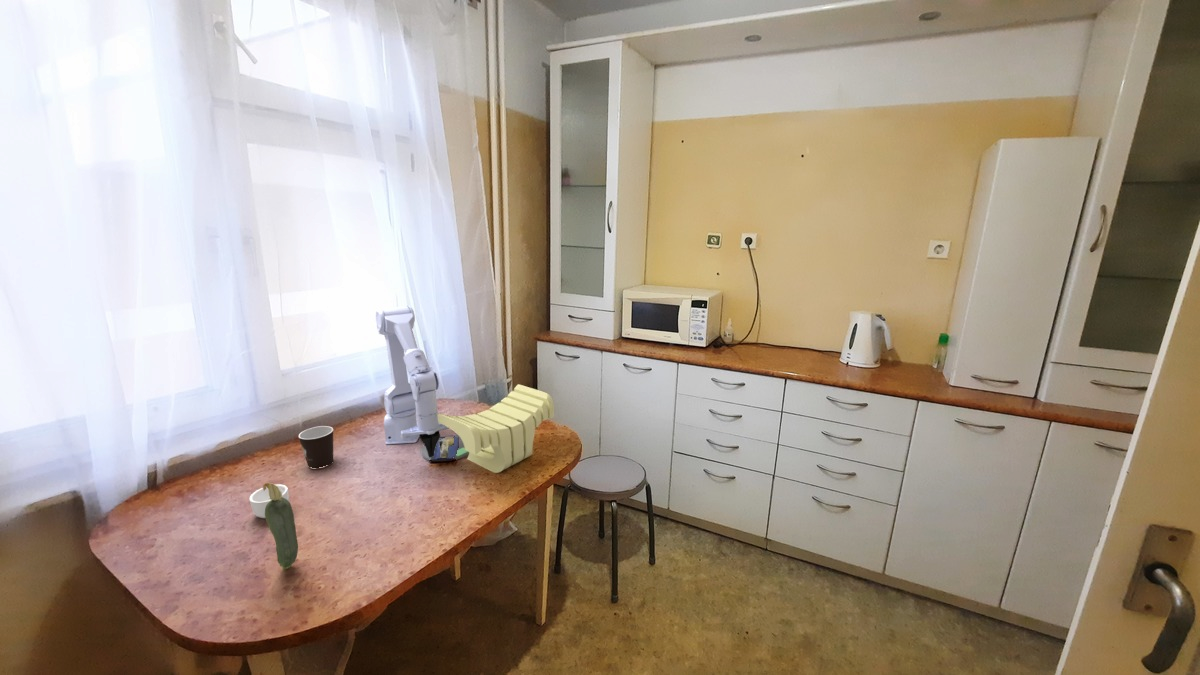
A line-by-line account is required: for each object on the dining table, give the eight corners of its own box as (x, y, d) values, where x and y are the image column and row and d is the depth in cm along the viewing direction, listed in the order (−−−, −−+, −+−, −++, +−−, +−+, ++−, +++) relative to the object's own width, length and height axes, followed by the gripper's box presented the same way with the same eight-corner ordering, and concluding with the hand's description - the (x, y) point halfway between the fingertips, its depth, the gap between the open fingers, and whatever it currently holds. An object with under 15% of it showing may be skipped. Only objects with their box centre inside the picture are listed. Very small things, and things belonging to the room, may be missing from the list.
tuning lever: (443, 442, 144) (442, 428, 143) (455, 442, 145) (454, 427, 144) (437, 458, 135) (436, 443, 133) (450, 457, 135) (449, 442, 134)
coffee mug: (335, 468, 132) (330, 436, 130) (300, 473, 129) (295, 441, 126) (341, 449, 142) (336, 420, 140) (309, 454, 139) (304, 424, 137)
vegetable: (306, 561, 96) (291, 475, 91) (294, 576, 91) (277, 488, 87) (285, 561, 96) (268, 476, 91) (271, 577, 91) (253, 488, 86)
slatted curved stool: (477, 490, 122) (473, 428, 117) (442, 470, 131) (437, 413, 127) (554, 447, 145) (553, 395, 140) (520, 433, 154) (518, 384, 150)
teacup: (294, 513, 112) (291, 493, 110) (256, 527, 106) (251, 506, 105) (285, 496, 118) (282, 477, 117) (249, 508, 113) (245, 489, 112)
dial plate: (416, 464, 134) (415, 460, 134) (427, 439, 150) (427, 436, 149) (472, 460, 137) (471, 456, 136) (477, 436, 152) (477, 433, 152)
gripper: (402, 423, 124) (406, 468, 127) (456, 412, 131) (459, 455, 134) (398, 414, 129) (402, 457, 133) (450, 404, 137) (453, 445, 140)
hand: (431, 455), depth 134 cm, fingers closed
